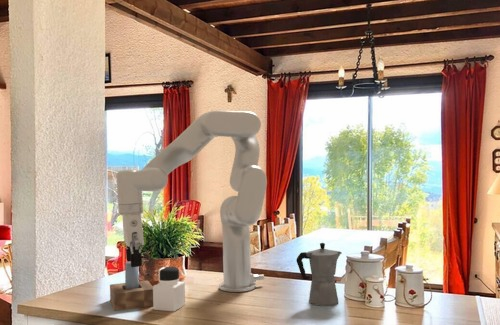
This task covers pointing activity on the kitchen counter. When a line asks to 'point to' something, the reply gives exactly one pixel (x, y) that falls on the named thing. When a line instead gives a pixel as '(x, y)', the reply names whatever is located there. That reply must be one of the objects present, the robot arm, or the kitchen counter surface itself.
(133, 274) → the peg
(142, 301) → the socket
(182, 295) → the medicine bottle
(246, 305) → the kitchen counter surface
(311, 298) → the coffeepot
